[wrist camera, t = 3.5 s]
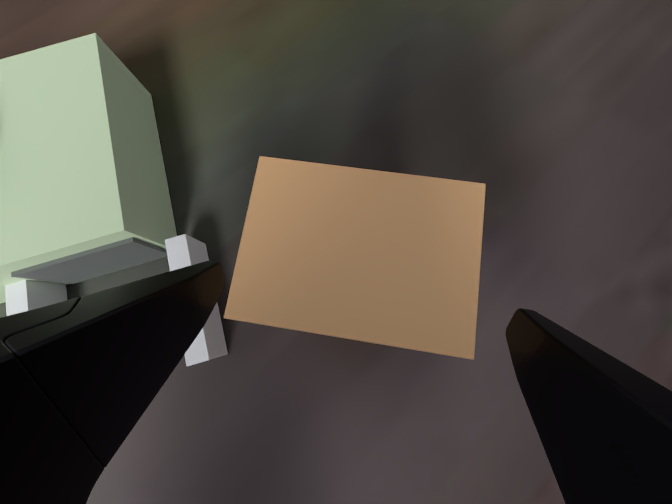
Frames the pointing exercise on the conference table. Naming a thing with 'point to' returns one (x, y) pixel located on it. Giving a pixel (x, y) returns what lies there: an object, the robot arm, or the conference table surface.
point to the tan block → (361, 256)
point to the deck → (83, 180)
